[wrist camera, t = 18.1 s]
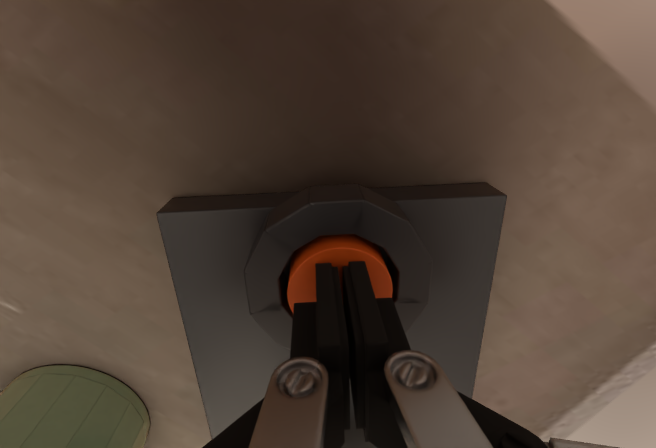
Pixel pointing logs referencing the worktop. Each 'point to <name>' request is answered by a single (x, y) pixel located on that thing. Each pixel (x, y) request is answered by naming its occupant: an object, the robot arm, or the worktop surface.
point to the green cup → (71, 411)
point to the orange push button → (335, 265)
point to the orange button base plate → (274, 264)
